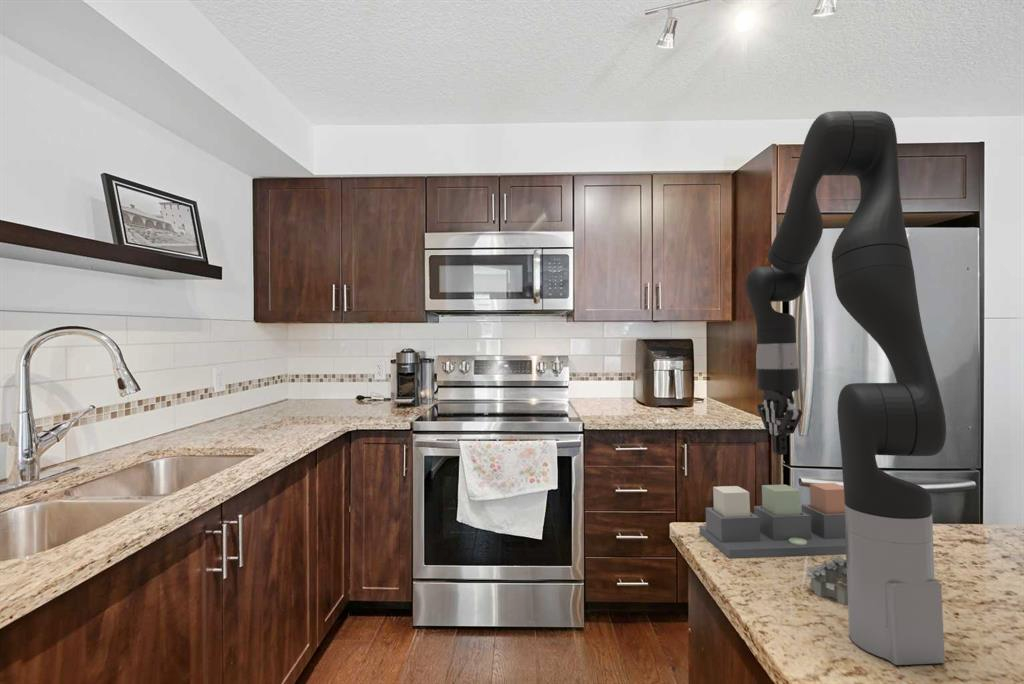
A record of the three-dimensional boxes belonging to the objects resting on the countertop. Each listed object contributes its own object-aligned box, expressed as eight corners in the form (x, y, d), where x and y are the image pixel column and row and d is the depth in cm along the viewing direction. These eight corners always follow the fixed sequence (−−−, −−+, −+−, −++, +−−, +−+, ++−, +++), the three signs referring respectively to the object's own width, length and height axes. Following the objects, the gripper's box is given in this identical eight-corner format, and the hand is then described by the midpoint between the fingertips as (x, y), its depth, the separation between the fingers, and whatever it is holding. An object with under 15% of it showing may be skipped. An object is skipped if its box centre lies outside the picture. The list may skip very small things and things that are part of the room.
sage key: (801, 521, 104) (800, 490, 104) (775, 522, 104) (774, 491, 104) (786, 514, 109) (785, 484, 109) (762, 515, 109) (761, 485, 109)
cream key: (750, 523, 103) (749, 492, 104) (724, 524, 103) (723, 493, 103) (738, 515, 108) (737, 485, 109) (714, 516, 108) (713, 486, 108)
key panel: (878, 552, 99) (877, 520, 99) (729, 558, 98) (728, 525, 98) (830, 528, 113) (829, 499, 113) (699, 532, 112) (698, 503, 112)
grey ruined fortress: (851, 610, 78) (850, 582, 78) (801, 591, 85) (800, 565, 85) (889, 593, 83) (888, 566, 84) (839, 576, 90) (838, 551, 90)
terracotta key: (851, 520, 104) (850, 489, 104) (826, 521, 104) (825, 489, 104) (835, 512, 109) (834, 483, 109) (811, 513, 109) (809, 483, 109)
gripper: (815, 367, 100) (818, 460, 100) (777, 365, 114) (780, 447, 113) (776, 368, 100) (779, 461, 100) (743, 366, 113) (745, 448, 113)
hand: (779, 453), depth 107 cm, fingers closed
